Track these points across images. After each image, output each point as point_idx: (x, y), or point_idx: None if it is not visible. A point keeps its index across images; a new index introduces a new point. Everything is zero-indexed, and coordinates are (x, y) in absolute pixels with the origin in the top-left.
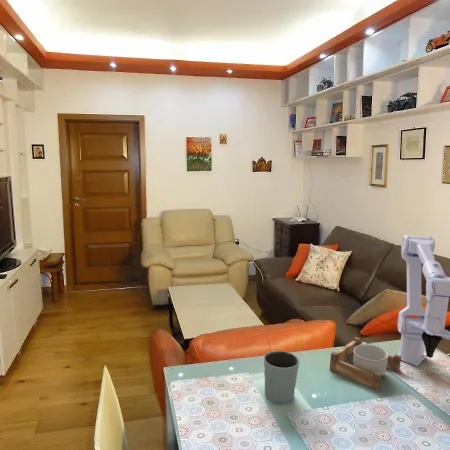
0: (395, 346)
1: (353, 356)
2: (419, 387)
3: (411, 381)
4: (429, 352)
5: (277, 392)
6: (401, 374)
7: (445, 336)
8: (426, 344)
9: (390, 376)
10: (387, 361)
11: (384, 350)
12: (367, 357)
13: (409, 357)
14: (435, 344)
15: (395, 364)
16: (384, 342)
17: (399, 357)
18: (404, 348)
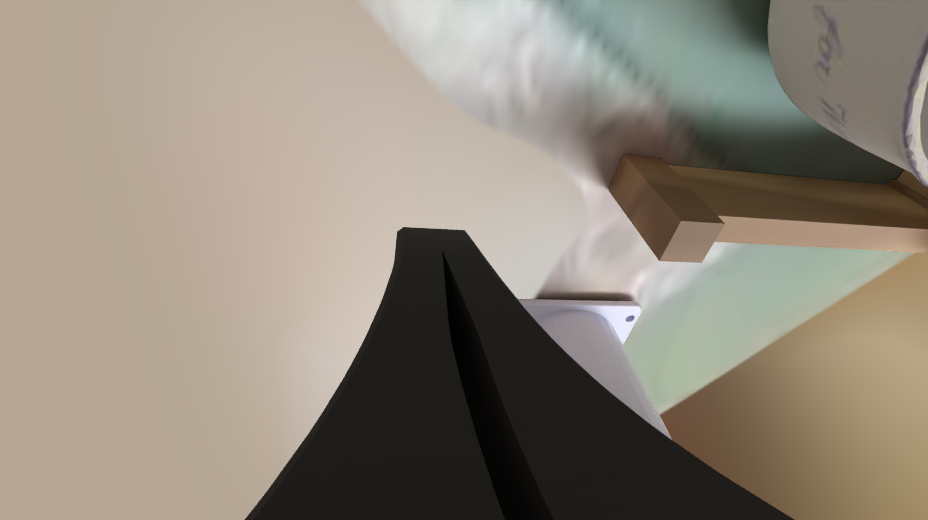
0: None
1: None
2: (438, 9)
3: (514, 73)
4: (439, 275)
5: None
6: (594, 132)
7: None
8: (554, 385)
9: (682, 36)
10: (858, 19)
11: (924, 154)
12: (926, 106)
13: (565, 331)
14: (313, 474)
15: (667, 182)
16: (680, 398)
17: (678, 228)
18: (622, 373)
